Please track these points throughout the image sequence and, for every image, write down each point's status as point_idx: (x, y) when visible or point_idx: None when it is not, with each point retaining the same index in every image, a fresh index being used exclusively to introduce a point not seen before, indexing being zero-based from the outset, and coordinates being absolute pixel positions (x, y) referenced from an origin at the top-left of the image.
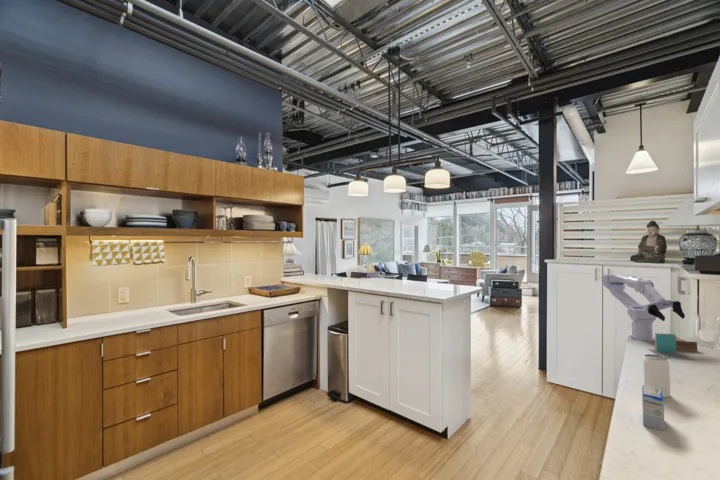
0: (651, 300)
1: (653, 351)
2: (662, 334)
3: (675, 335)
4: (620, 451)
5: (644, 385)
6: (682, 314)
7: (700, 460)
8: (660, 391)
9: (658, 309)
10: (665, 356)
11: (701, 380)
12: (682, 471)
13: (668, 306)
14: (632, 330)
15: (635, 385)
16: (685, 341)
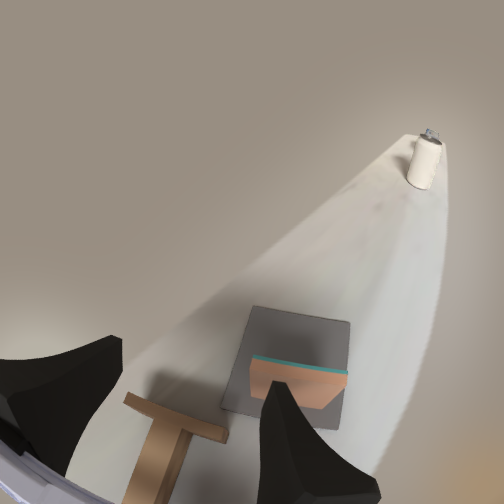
0: None
1: (335, 399)
2: (317, 367)
3: (254, 356)
4: (442, 147)
5: (437, 137)
6: (116, 343)
7: (408, 137)
8: (427, 131)
9: (290, 447)
10: (329, 339)
11: (340, 207)
12: (418, 136)
13: (72, 488)
14: None
15: (437, 200)
16: (163, 413)
